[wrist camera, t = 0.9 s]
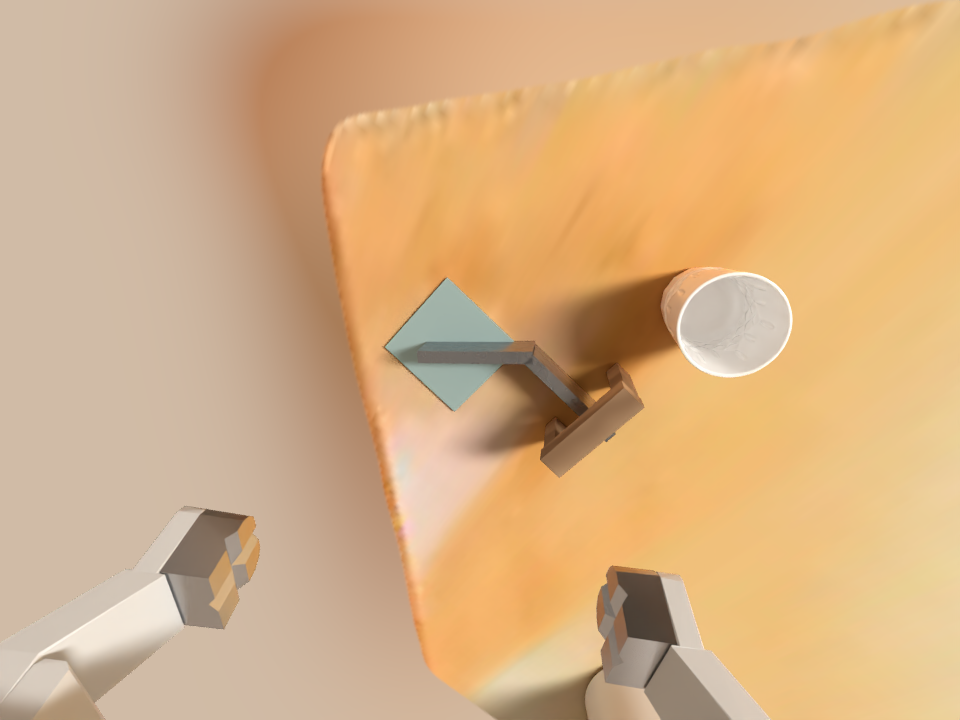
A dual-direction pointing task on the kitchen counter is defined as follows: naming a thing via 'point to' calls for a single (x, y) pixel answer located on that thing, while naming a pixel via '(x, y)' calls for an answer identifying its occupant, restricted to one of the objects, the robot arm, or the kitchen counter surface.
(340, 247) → the kitchen counter surface
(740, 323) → the white cup
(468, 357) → the rail
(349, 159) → the kitchen counter surface
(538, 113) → the kitchen counter surface
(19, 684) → the robot arm
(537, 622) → the kitchen counter surface
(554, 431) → the arch
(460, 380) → the pad
